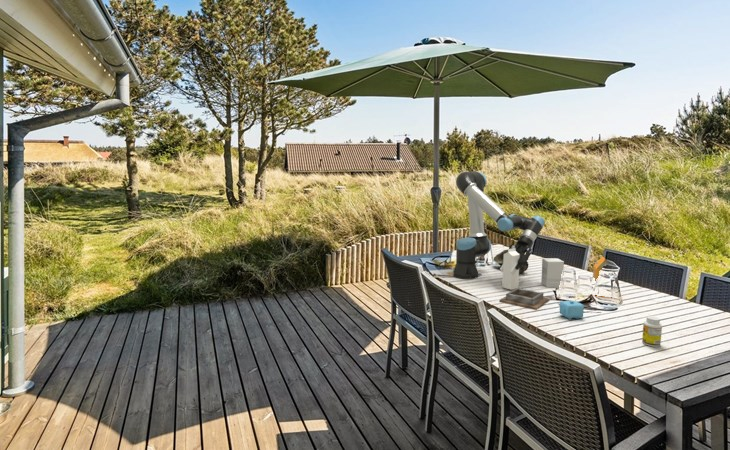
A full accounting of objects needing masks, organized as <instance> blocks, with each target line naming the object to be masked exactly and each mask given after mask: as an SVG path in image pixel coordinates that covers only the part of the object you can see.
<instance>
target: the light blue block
mask: <svg viewBox="0 0 730 450" xmlns="http://www.w3.org/2000/svg"><path fill="white" fill-rule="evenodd" d="M556 304H557V305H558V306H559V314H560V315H562V316H563V317H565V318H566V319H568V320H572V319H574V318H575V319H576V320H579V319H580V318H584V308H585V306H584V304H582V303H580V302H578V301H576V300H563V301H559V303H556Z"/></svg>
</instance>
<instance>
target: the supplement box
mask: <svg viewBox="0 0 730 450" xmlns="http://www.w3.org/2000/svg"><path fill="white" fill-rule="evenodd" d="M564 266H565V261H564V260H561V259H560V258H555V257H554V258H553V257H550V258H545V257H543V258H542V259H541V279H540V281H541V282H540V283H541V284H542V285H543V286H545V288H560V287H559V285H560V281H561V274H562V270H563V269H564V270H565V267H564Z"/></svg>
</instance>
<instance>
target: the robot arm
mask: <svg viewBox="0 0 730 450" xmlns="http://www.w3.org/2000/svg"><path fill="white" fill-rule="evenodd" d="M455 184H456V187H457V189H458V190H459V191H460V192H461V193H462V194H463V195H464V196H465V197H466V196H467V204H468V207H467V208H468V218H469V232H470V233H469V235H468V236H466V237H461V238H459V239H457V241H456V256H455V257H456V260H455V266H454V268H453V271H452V276H453V277H454V278H458V279H463V280H465V279H466V280H472V279H478V277H479V272H478V268H477V265H476V258H479V257H484V256H485V255H488V253H490V251H491V249H492V244H491V241H490V240H489V238H488V234H487V233H486V232H485V223H484V212H485V213H486V214H487V215H488V216H489V217H490V219H492V220H493V221H494V222H495V223H496V226H497V229H498V230H499V231H501V232H510V231H513V230H522V231H523V232H522V233H521V235H520V237H519V238H518V240H517V242H516V244H515V245H512V244H510V245H509V246H508V247H509V248H508V249H513V248H516V252H517V253H520V258H519V259H518V261H517V262H518V263H517V262H516V263H515V265H514V267H513V268H512V270H511V271H510V272H511V274H512V275H514V274H515V272H516V270H518V269H519V267H520V266H521V265H525V264H526V262H528V260H529V259H530V256H531V255H532V254H533V252H534V251H533V250H532V248H531V247H532V246H533V244H534V242H535V240H536V239H537V238H538V236H539V234H540V233H541V232H542V229H544V226H545V224H546V221H545V219H544V218H543V217H541V216H540V215H533V216H532V217H531V218H530V217H525V216H522V215H519V214H513V213H512V214H509V215H508V213H506V212H505V211H504V210H503V209H502V208H501V207H500V206H499V205H498V204H496V203H495V202H494V200H492V199H491V198H490V197H489V196H488V195H486V194H485V191H484V190H485V189H484V188H485V187H486V185H487V177H486V176H485V174H484V173H482V172H479V171H462V172H461V173H459V174H458V175H457V177H456V179H455ZM508 249H506V250H507V252H508ZM507 252H506V253H507ZM524 255H525V256H524ZM502 258H504V256H503V257H502ZM499 270H500V271H501V273H503V263H502V266H501V268H499Z"/></svg>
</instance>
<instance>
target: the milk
mask: <svg viewBox="0 0 730 450" xmlns="http://www.w3.org/2000/svg"><path fill="white" fill-rule="evenodd" d="M507 250H508V252H507V253H505V254H504V258H503V272H502V283H501V284H502V285H501V288H504V289H507V290H510V291H512V290H514V289H516V288H519V279H520V277H519V276H520V274H519V269H518V270H516V272H515V274H514V275H512V274H511V272H510V271H511V270H512V268H513V267H514V265H515V263H516V262H517V261H518V259H519V258H520V254H518V253H517V252H516V248H513V249H509V248H508V249H507ZM517 263H518V262H517Z"/></svg>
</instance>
